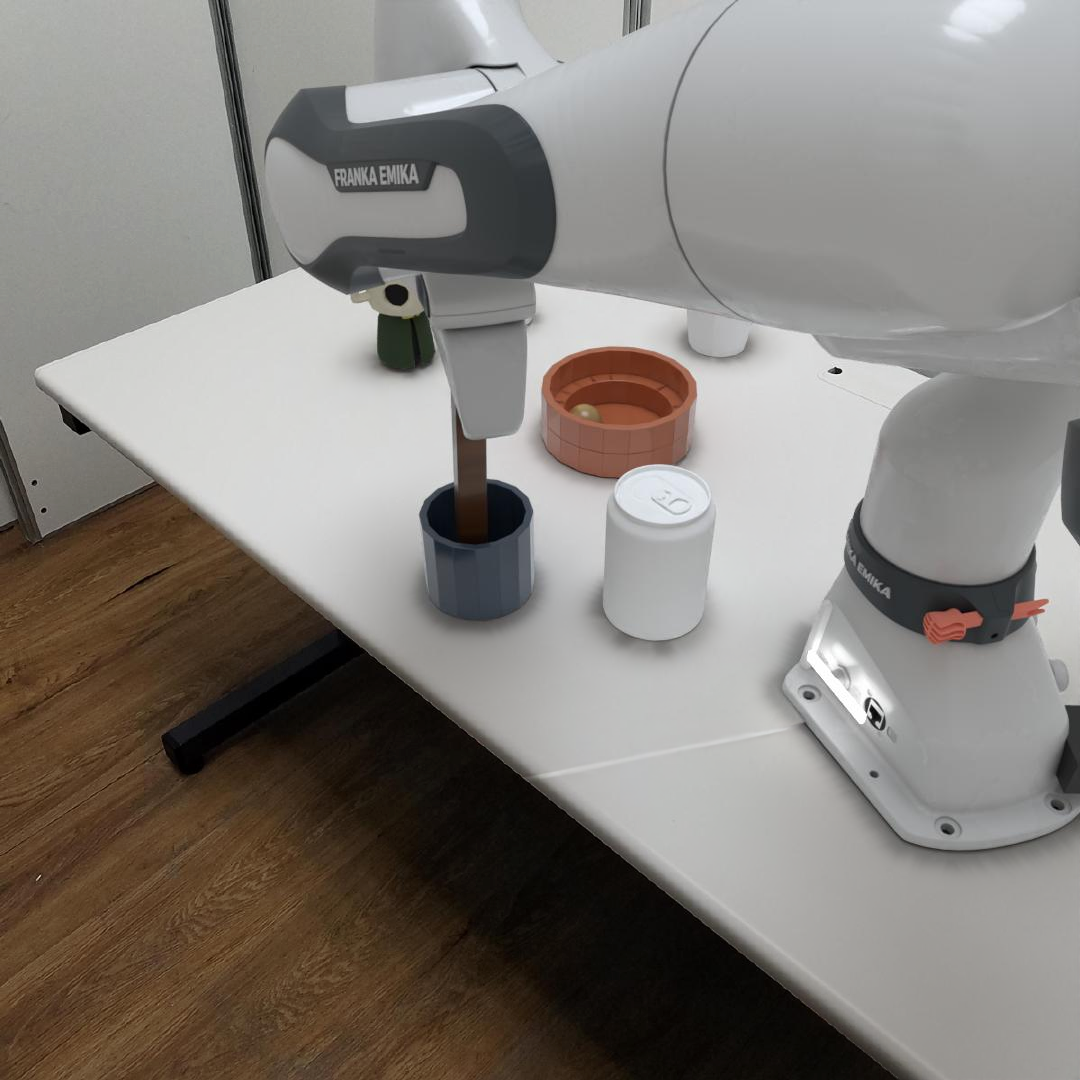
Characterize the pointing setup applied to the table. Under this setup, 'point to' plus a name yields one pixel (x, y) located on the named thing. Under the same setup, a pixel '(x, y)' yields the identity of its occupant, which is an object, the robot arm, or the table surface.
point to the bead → (587, 413)
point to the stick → (469, 484)
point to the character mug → (399, 324)
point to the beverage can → (657, 551)
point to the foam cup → (716, 334)
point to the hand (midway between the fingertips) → (470, 419)
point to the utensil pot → (479, 554)
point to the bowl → (618, 410)
